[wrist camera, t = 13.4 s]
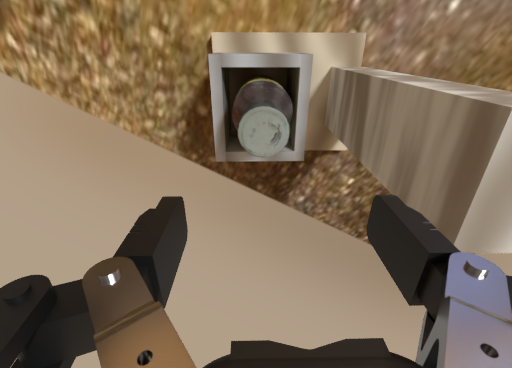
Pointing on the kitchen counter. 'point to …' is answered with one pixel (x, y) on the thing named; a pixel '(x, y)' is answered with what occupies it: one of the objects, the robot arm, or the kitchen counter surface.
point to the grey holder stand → (381, 127)
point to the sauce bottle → (262, 116)
